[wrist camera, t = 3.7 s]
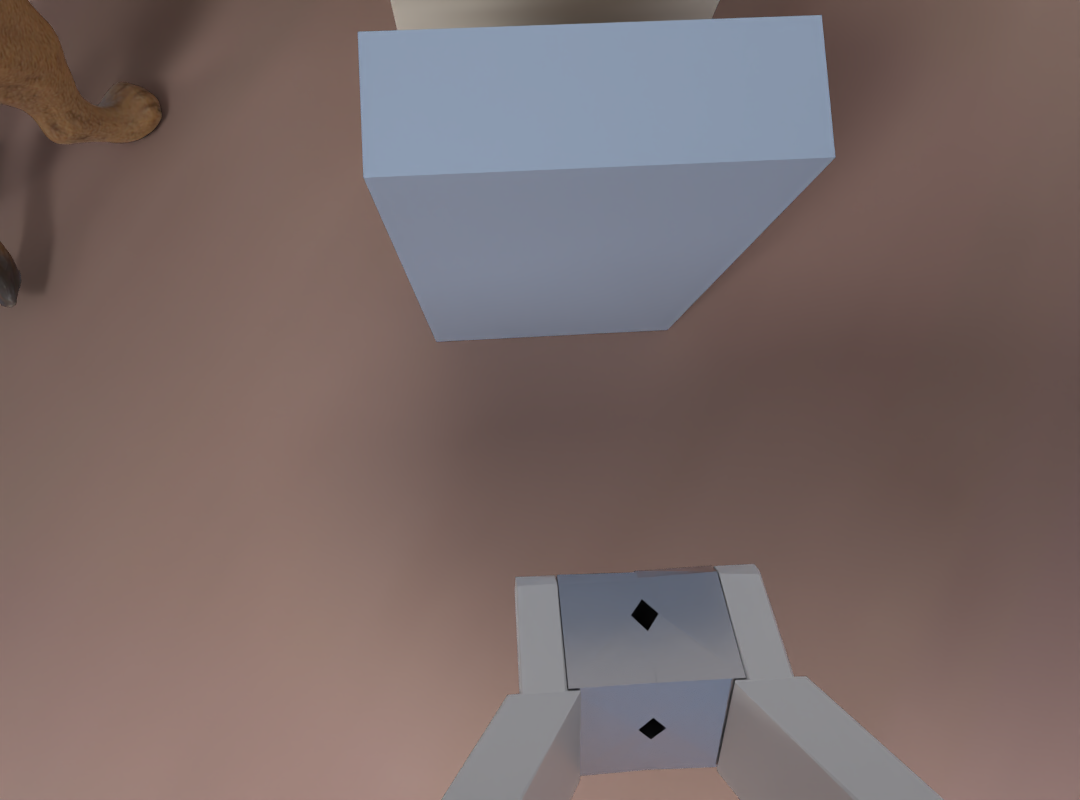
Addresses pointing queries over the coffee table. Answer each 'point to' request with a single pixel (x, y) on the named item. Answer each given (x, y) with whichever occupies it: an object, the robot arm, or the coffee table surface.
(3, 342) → the coffee table surface
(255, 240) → the coffee table surface
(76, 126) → the lion figurine
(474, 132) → the domino
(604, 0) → the domino
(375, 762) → the coffee table surface
